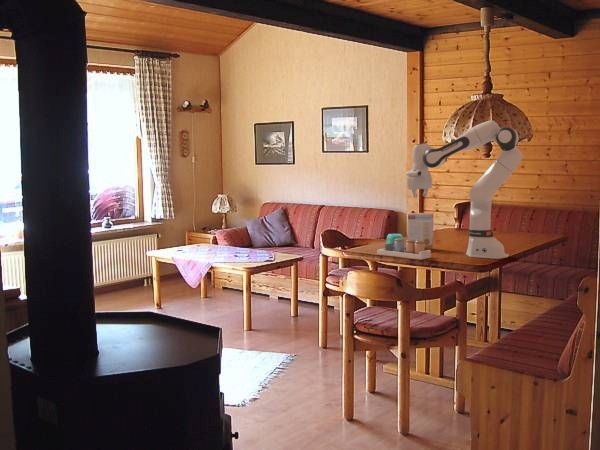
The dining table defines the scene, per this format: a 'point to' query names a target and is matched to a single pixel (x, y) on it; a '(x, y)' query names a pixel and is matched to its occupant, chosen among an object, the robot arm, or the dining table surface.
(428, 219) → the cracker box
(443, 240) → the dining table surface
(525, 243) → the dining table surface
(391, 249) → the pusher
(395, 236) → the decorative dice
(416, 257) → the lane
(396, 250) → the blue jar
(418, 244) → the jar front
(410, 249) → the jar
